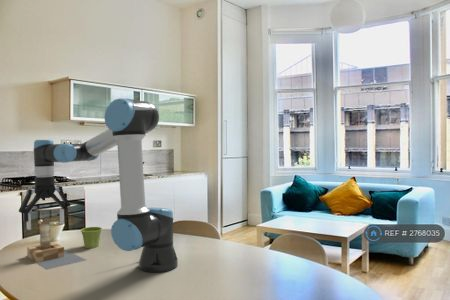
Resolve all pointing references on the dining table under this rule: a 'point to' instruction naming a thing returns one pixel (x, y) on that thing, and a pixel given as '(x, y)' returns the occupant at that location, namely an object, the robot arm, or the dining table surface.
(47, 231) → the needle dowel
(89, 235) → the plant pot
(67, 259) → the mat
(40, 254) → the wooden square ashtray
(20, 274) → the dining table surface
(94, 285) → the dining table surface
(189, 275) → the dining table surface
